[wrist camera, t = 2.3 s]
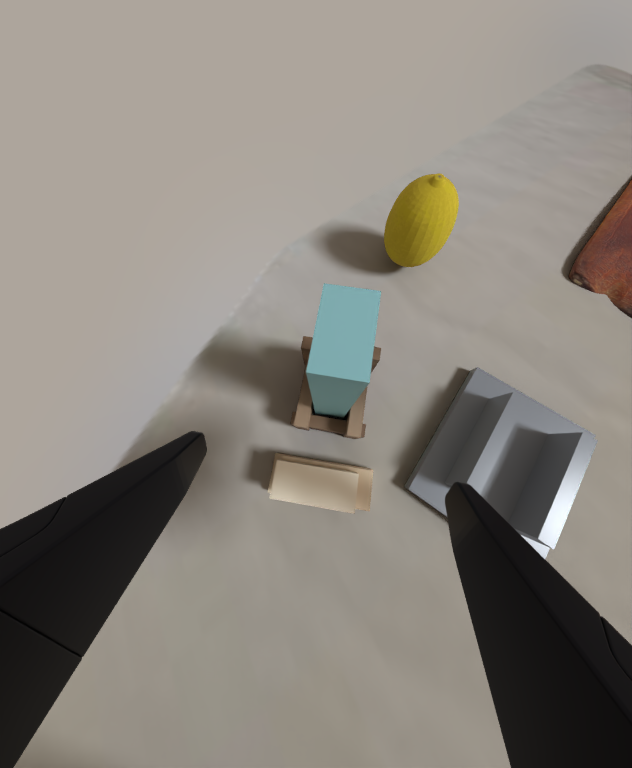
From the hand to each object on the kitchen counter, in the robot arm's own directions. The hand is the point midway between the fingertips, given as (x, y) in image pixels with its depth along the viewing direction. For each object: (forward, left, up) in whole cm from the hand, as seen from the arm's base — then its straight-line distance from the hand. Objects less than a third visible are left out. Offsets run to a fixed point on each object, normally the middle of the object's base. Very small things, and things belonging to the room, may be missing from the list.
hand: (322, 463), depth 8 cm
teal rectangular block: (+5, +2, -12) cm, 13 cm away
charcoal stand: (+8, -12, -12) cm, 18 cm away
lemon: (+21, +4, -12) cm, 24 cm away
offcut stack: (-2, -1, -12) cm, 12 cm away
